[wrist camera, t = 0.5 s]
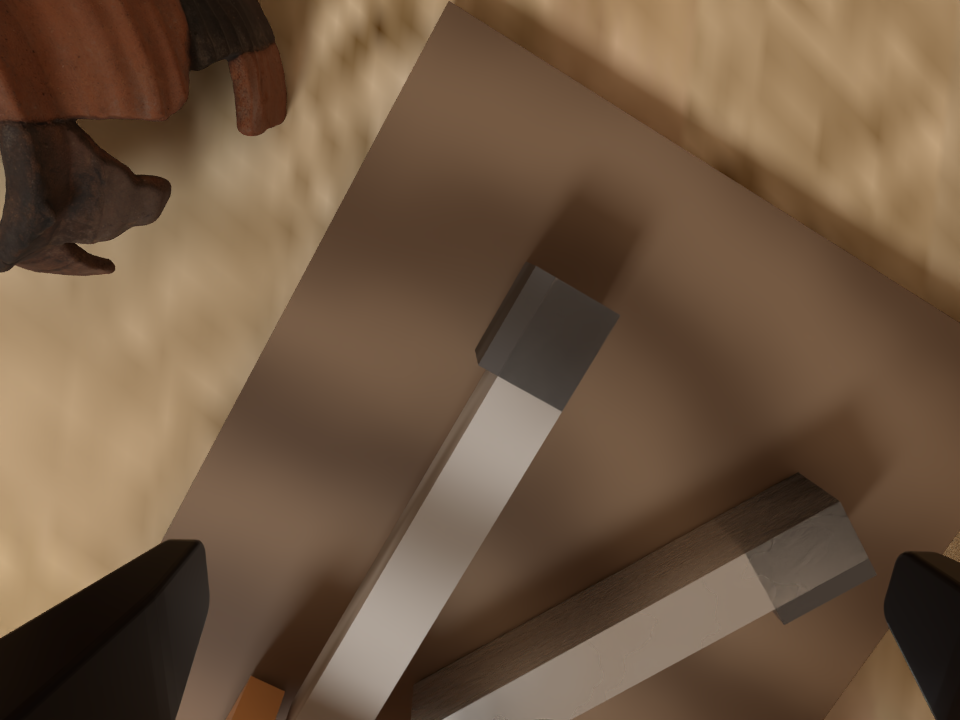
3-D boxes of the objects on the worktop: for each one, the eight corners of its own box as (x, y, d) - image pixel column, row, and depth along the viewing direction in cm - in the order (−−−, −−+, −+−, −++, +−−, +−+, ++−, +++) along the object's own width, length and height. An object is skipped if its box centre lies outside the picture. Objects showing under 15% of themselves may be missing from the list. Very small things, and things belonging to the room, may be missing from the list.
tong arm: (454, 744, 23) (455, 802, 21) (413, 684, 23) (409, 737, 20) (832, 538, 22) (877, 575, 20) (798, 471, 22) (840, 501, 20)
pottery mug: (337, 218, 22) (122, 323, 15) (117, 215, 25) (-135, 299, 19) (241, -290, 16) (-155, -477, 10) (-19, -200, 20) (-436, -291, 13)
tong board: (617, 967, 27) (642, 1074, 23) (68, 725, 24) (6, 807, 20) (1035, 380, 23) (1135, 406, 20) (448, 12, 20) (448, -32, 17)
